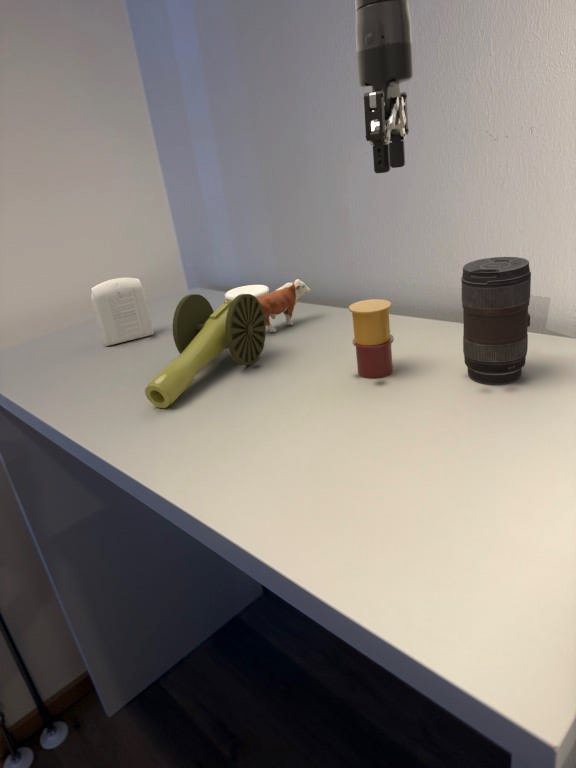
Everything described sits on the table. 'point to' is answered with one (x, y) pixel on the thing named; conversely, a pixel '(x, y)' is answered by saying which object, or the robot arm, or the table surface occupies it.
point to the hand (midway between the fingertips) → (390, 169)
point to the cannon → (208, 341)
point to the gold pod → (371, 321)
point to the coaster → (247, 291)
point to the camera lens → (496, 318)
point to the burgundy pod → (374, 359)
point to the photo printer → (121, 310)
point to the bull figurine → (282, 301)
